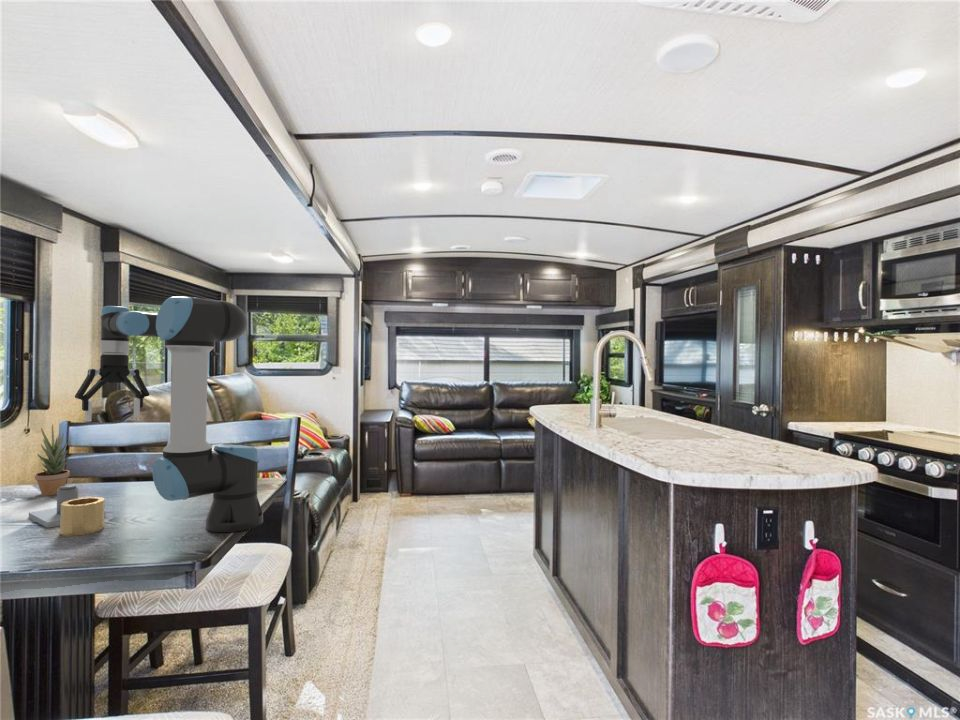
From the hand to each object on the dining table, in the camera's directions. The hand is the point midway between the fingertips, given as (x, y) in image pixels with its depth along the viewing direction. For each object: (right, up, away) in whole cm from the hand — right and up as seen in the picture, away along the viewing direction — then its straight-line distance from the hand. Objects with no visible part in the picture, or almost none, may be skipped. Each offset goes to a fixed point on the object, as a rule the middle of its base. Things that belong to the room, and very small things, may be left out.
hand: (113, 419), depth 169 cm
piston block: (-5, -28, -12) cm, 31 cm away
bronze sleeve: (+9, -28, -24) cm, 38 cm away
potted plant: (-32, -28, +14) cm, 44 cm away
